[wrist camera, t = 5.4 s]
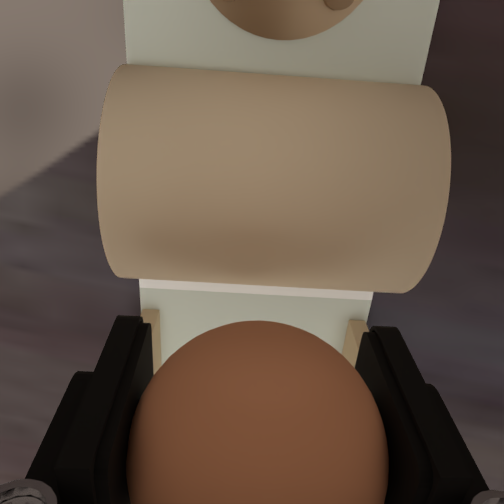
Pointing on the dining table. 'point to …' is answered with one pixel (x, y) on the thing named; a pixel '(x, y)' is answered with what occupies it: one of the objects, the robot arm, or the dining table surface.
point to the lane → (271, 169)
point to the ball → (257, 424)
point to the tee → (285, 16)
